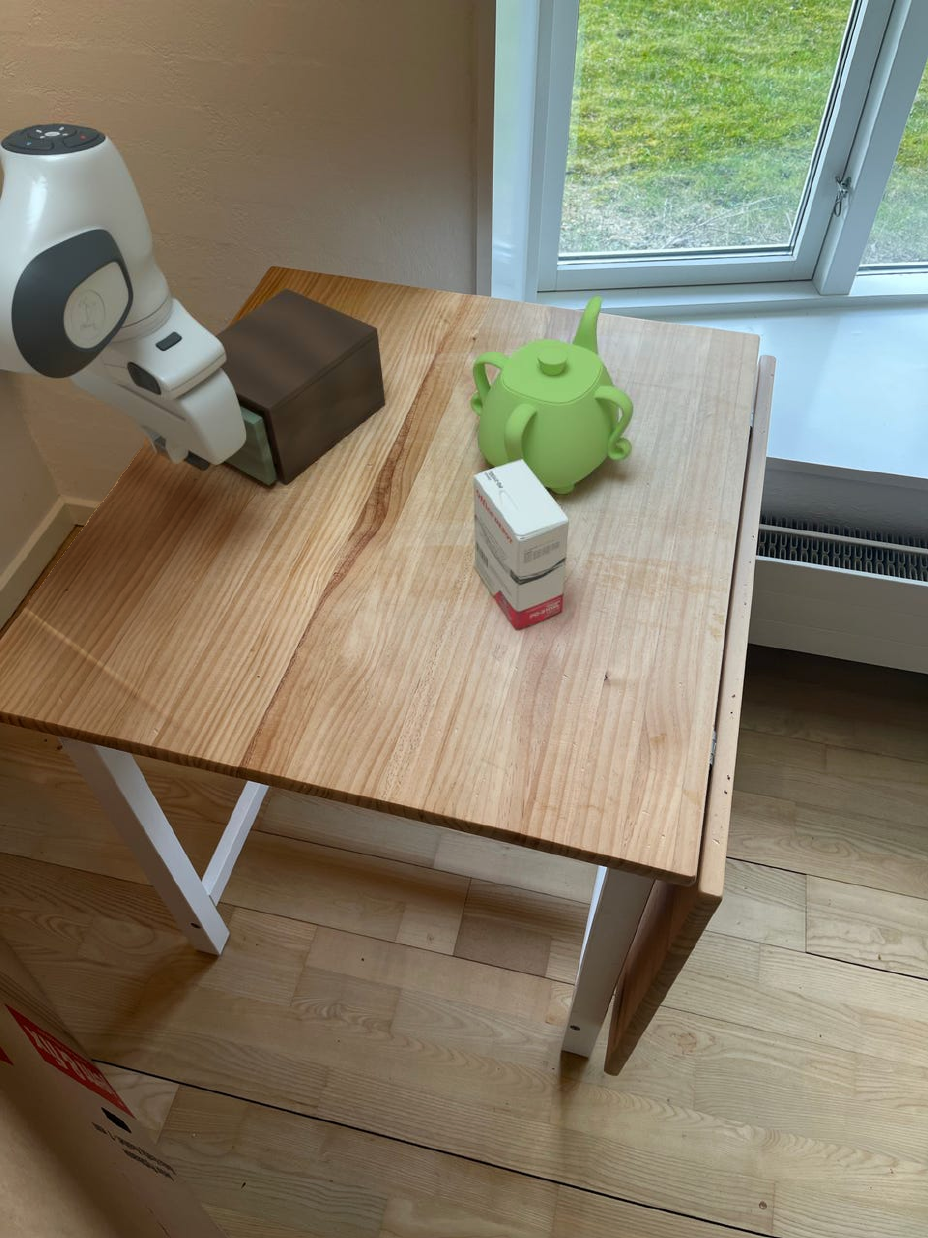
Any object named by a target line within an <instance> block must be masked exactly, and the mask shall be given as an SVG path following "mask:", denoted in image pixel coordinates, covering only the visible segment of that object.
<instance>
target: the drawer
mask: <svg viewBox="0 0 928 1238" xmlns="http://www.w3.org/2000/svg"><path fill="white" fill-rule="evenodd" d="M237 400H239V399H237ZM240 410H241V413H242V417H243V421H244V425H245V430H246V441H245V443H244V444H243V446H242V447H241V448H240V449H239V450H238V451H237V452H236V453H234V454H233V455H232V456H231V457H229V458H228V459H227V460H225V461H224V462H226V463H228V464H229V465H231V466H233V467H235V468H237V469H238V470H240V471H242V472H244V473H245V474H248V475H249V476H252V477H253V478H255V479H257V480H258V481H260V482H262V483H263V484H265V485H267V486H271V484H273V483H274V482H275V481H277V480H276V479H277V477H276V473H275V469H274V464H273V463H275V464H277V463H276V459H275V455H274V450H273V446H272V442H271V438H270V433H269V429H268V425H267V421H266V416H265V413H264V412H263V414H264V418H265V422H266V426H267V431H268V435H269V439H270V440H269V441H268V439H267V435H266V431H265V427H264V423H263V419H262V417H260V416H259V415H257V414H255V413H253V412H251V411H249V410H247V409H245V408H243V407H241V406H240ZM188 452H189V453H188V456H187V457H186V458H185V459H184V460H182V461H183V462H185V463H186V464H189V465H190V466H192V467H194V468H195V469H197V470H199V471H200V472H205V471H207V470H208V469H209V468H210V467H211V465H212V463H210V462H208V461H207V460H205V459H203V458H201V457H200V456H198V455H196V454H194V453H193V452H191V451H189V450H188Z"/></svg>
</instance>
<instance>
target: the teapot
mask: <svg viewBox="0 0 928 1238" xmlns="http://www.w3.org/2000/svg"><path fill="white" fill-rule="evenodd" d="M602 303H603V301H602V298H601V296H599V295H597V296H594V297H592V298H591V299H590V300H589V301H588V302H587V304H586V306H585V308H584V309H583V312H582V315H581V316H582V317H581V319H580V322H579V324H578V328H577V330H576V333H575V336H574V338H573V340H572V343H569V342H566V341H561V340H558V339H552V338H551V339H550V338H541V339H540V338H539V339H536V340H533V341H531V342H528V343H526V344H525V345H523V346H521V347H520V348H518V349H517V350H516V351H514V353H513V354H512V355H510V357H509V356H507V355H506V354H504V353H503V352H500V351H495V350H491V351H486V352H483V353H482V354H480V355H479V356H478V357H477V358H476V359H475V360H474V362H473V364H472V376H473V381H474V384H475V388H476V390H477V392H475V393H473V395H472V396H471V399H470V407H471V409H472V411H473V412H474V413H475V414H476V415H478V416H479V422H478V427H477V428H478V429H477V442H478V444H477V445H478V448H479V450H480V452H481V454H482V455H483V457H484V458H485V460H487V462H488V463H489V464H491V465H492V466H493V468H495V467H499V466H502V465H505V464H508V463H511V462H514V461H517V460H520V459H522V460H523V461H524V462H525V463H526V465H527V466H528V467H529V468H530V470H531V471H532V472H533V473H534V475H535V476H536V477H537V479H538V480H539V481H540V482H541V484H542V485H543V486H544V487H545V488H549V489H550V490H551V491H552V493H555V494H559V495H565V494H569V493H571V492H572V491H573V490H574V488H575V484H577V483H578V482H579V481H581V480H583V479H584V478H586V477H587V476H589V475H590V474H591V473H592V472H593V471H594V470H595V469H597V468H598V467H599V466H600V465H601V464H602V463H603V462H604V461H605V460H606V458H607V457H608V458H609V459H611V460H613V461H624V460H626V459H627V458H629V456H630V455H631V453H632V449H633V448H632V443H631V442H630V440H628V439H627V438H626V437H622V436H623V434H624V433H625V432H626V430H627V428H628V427H629V425H630V423H631V421H632V418H633V415H634V403H633V401H632V399H631V398H630V396H629V395H628V394H627V393H626V392H624V391H623V390H622V389H620V388H618V387H615V386H614V383H613V381H612V377H611V375H610V373H609V371H608V369H607V367H606V365H605V363H604V361H603V360H602V358H601V357H600V356H599V349H598V336H597V335H598V334H597V332H598V329H597V328H598V321H599V316H600V312H601V308H602V305H603V304H602ZM486 365H492V366H493V367H495V368H497V369H499V372H498V374H497V375H496V377H495V378H494V381H493V382H492V384H490V381H489V379H488V376H487V371H486ZM619 409H620V410H621V417H620V411H619Z"/></svg>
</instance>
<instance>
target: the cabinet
mask: <svg viewBox="0 0 928 1238" xmlns="http://www.w3.org/2000/svg"><path fill="white" fill-rule="evenodd" d="M378 333H379V332H378V328H377V327H375V326H373V325H371V324H368V323H367V322H364V321H362V320H360V319H357V318H355V317H353V316H351V315H348V314H346V313H344V312H342V311H339V310H336V309H334V308H333V307H330V306H328V305H325V304H323V303H321V302H319V301H316V300H314V299H312V298H310V297H307V296H305V295H303V294H301V293H298V292H296V291H294V290H291V289H289V288H287V287H286V288H284V289H283V290H282V291H279V292H278V293H277V294H275V295H274V296H272V297H270V298H269V299H268V300H266V301H265V302H263V303H262V304H260V305H259V306H257V307H256V308H255V309H253V310H252V311H250V312H248V313H247V314H246V315H243V316H242V317H241V318H239V319H238V320H237V321H235V322H234V323H232V324H230V325H229V326H227V327H226V328H225V329H223V330H221V331H220V332H219V333H217V334H216V335H214V336H215V337H216V338H217V339H218V340H219V341H220V342H221V343H222V345H223V347H224V349H225V353H226V362H225V363H224V364H222V365H221V366H220V368H221V369H222V370H223V371H224V372H225V373H226V375H227V376H228V378H229V379H230V381H231V383H232V385H233V388H234V390H235V393H236V396H237V399H239V400H241V401H243V402H245V403H247V404H249V405H251V406H253V407H255V408H257V409H259V410H260V411H262V412H264V413H265V416H266V421H267V425H268V429H269V433H270V438H271V442H272V446H273V450H274V455H275V459H276V463H277V464H275V463H273V464H274V469H275V473H276V477H277V479H276V480H275V481H278V482H280V483H282V484H283V485H286V486H288V485H289V484H290V483H291V482H292V481H293V480H295V479H296V478H297V477H298V476H299V475H301V474H302V473H303V472H305V471H306V470H307V469H308V468H309V467H311V466H312V465H313V464H314V463H315V462H317V461H318V460H319V459H320V458H322V457H323V456H324V455H325V454H327V452H329V451H330V450H331V449H332V448H334V447H335V446H336V445H338V444H339V443H340V442H341V441H343V439H345V438H346V437H347V436H349V435H350V434H351V433H352V432H353V431H354V430H356V429H357V428H358V427H360V426H361V425H362V424H363V423H364V422H366V421H367V420H368V419H369V418H371V416H373V415H374V414H375V413H377V412H378V411H379V410H380V409H381V408H383V407H384V406H385V405H386V397H385V387H384V379H383V370H382V361H381V352H380V342H379V334H378Z"/></svg>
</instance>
